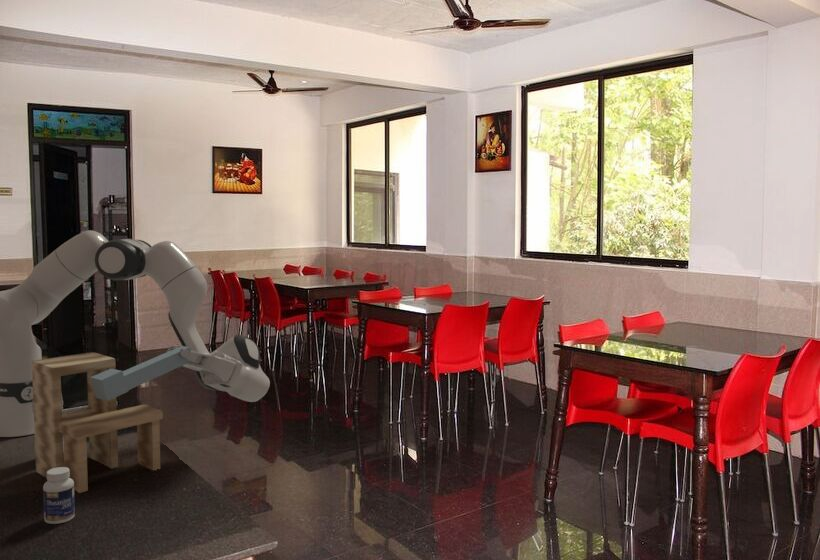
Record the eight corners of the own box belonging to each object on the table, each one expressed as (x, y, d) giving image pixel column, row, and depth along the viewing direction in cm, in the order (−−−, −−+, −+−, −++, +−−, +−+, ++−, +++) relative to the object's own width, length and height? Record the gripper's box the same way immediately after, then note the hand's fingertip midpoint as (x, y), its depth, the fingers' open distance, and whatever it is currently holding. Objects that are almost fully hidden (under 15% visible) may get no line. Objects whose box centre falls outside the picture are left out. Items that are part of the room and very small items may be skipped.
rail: (96, 397, 153) (90, 377, 151) (183, 358, 170) (178, 339, 169) (107, 401, 150) (101, 380, 148) (195, 360, 167) (190, 341, 165)
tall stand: (36, 471, 158) (31, 360, 155) (96, 455, 168) (93, 352, 166) (56, 484, 151) (52, 368, 148) (118, 466, 161) (115, 358, 159)
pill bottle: (44, 527, 130) (42, 477, 129) (44, 515, 135) (42, 468, 134) (75, 521, 133) (73, 473, 132) (74, 510, 137) (73, 463, 137)
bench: (61, 484, 150) (59, 422, 149) (146, 460, 166) (144, 404, 164) (77, 494, 145) (75, 430, 144) (163, 468, 161) (162, 410, 159)
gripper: (200, 353, 183) (158, 333, 173) (247, 364, 170) (204, 343, 160) (190, 375, 181) (147, 356, 171) (237, 388, 168) (193, 369, 158)
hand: (175, 350), depth 165 cm, fingers closed on rail, 4 cm apart
